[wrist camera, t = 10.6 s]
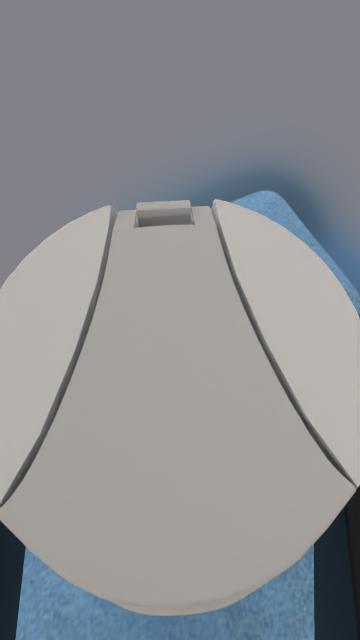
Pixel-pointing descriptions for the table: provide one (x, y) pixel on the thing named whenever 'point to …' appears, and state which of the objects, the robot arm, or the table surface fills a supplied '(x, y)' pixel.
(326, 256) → the table surface
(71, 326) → the coffee cup
